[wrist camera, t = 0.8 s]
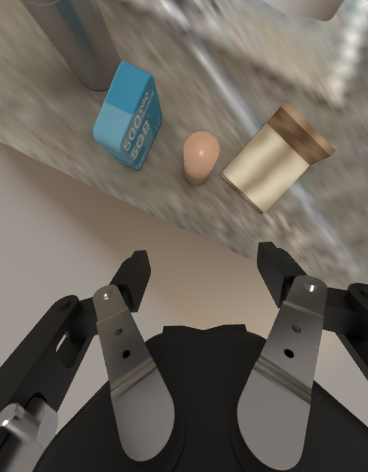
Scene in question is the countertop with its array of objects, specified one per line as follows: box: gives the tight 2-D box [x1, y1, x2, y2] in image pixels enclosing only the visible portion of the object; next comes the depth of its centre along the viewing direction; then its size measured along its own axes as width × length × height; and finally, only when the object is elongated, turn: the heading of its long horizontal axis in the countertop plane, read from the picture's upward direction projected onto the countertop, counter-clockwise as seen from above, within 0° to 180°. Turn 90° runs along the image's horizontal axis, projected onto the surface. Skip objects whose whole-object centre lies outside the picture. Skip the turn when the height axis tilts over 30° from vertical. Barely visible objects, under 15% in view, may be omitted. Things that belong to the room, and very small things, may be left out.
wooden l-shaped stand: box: [220, 101, 336, 213], centre depth 33 cm, size 12×14×7 cm
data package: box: [93, 61, 162, 170], centre depth 31 cm, size 12×4×12 cm, turn 154°
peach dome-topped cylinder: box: [184, 131, 220, 185], centre depth 31 cm, size 5×5×12 cm
